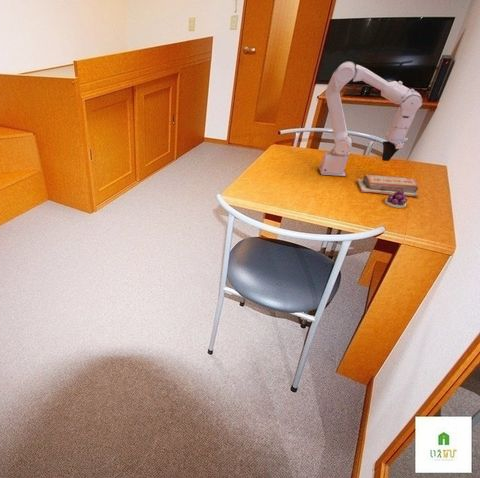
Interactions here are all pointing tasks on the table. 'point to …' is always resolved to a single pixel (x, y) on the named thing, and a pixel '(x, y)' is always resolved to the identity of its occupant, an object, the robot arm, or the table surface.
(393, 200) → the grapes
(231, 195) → the table surface
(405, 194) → the packaged product
